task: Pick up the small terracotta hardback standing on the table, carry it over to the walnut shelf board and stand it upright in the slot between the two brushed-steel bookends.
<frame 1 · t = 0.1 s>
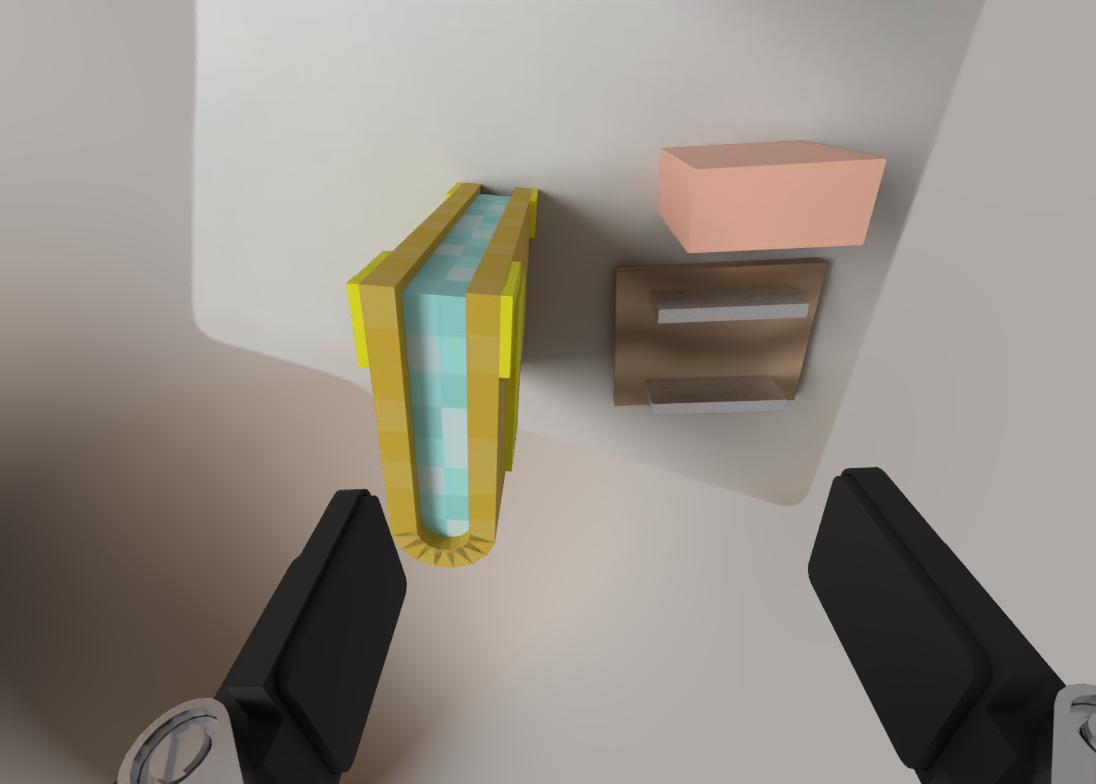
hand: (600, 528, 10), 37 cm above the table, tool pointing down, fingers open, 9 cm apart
small book: (726, 178, 41), on the table
book: (496, 282, 46), on the table
bookends: (718, 351, 45), on the shelf board, point 4 cm above the table
shelf board: (707, 333, 48), on the table
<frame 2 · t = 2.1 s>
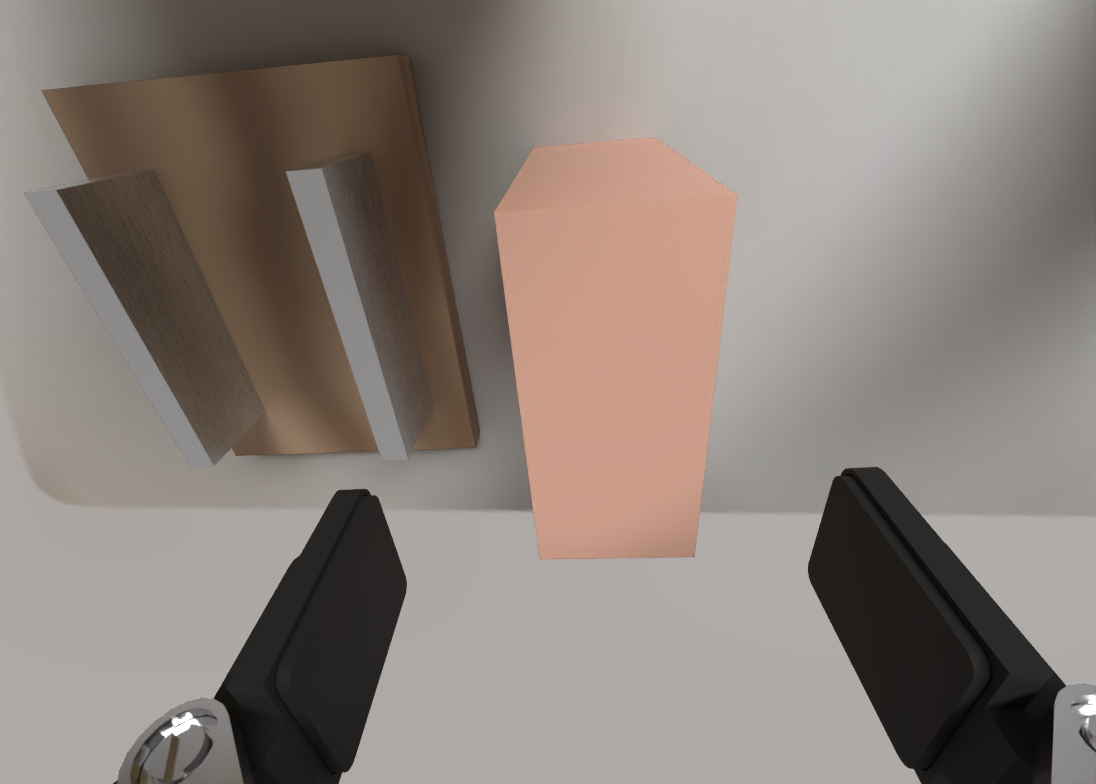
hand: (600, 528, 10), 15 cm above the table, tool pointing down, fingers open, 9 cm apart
small book: (597, 272, 23), on the table
bookends: (273, 321, 21), on the shelf board, point 4 cm above the table
shelf board: (312, 290, 24), on the table
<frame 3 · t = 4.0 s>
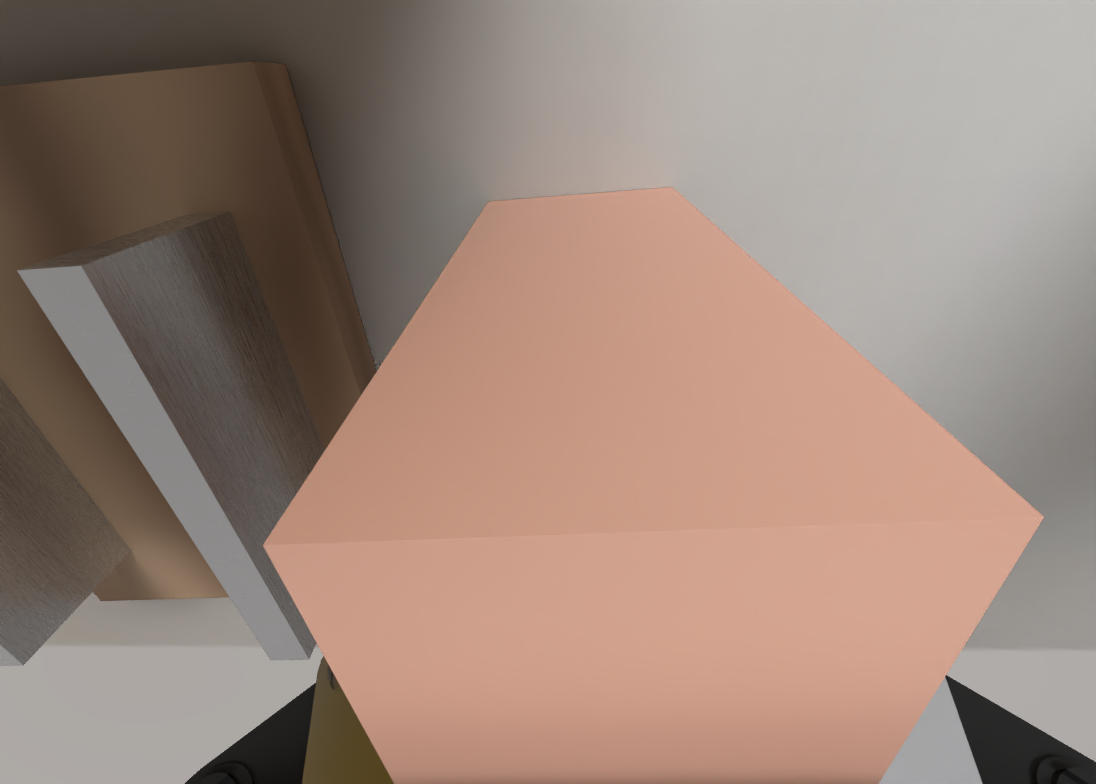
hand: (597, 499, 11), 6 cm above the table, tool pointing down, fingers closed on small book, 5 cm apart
small book: (586, 370, 16), on the table, touching gripper
bookends: (95, 463, 14), on the shelf board, point 4 cm above the table
shelf board: (182, 393, 17), on the table
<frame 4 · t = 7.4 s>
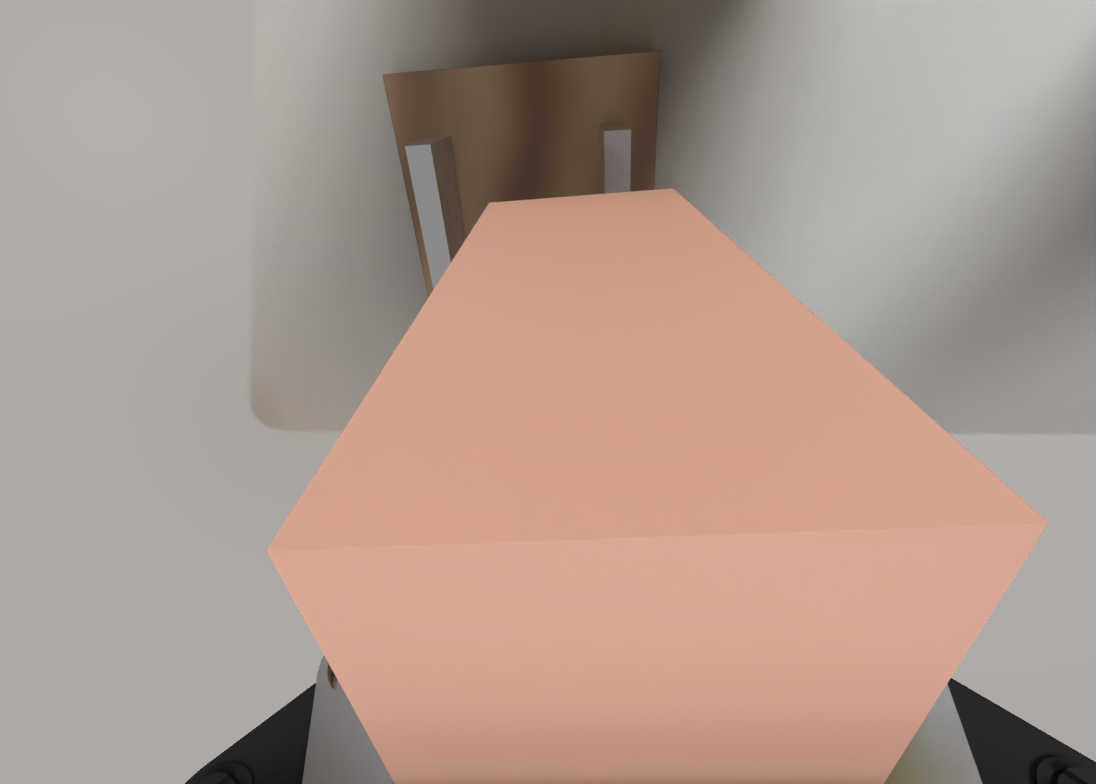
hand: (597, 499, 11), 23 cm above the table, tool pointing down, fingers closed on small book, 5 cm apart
small book: (587, 371, 16), point 17 cm above the table, touching gripper
bookends: (530, 254, 28), on the shelf board, point 4 cm above the table
shelf board: (535, 237, 31), on the table
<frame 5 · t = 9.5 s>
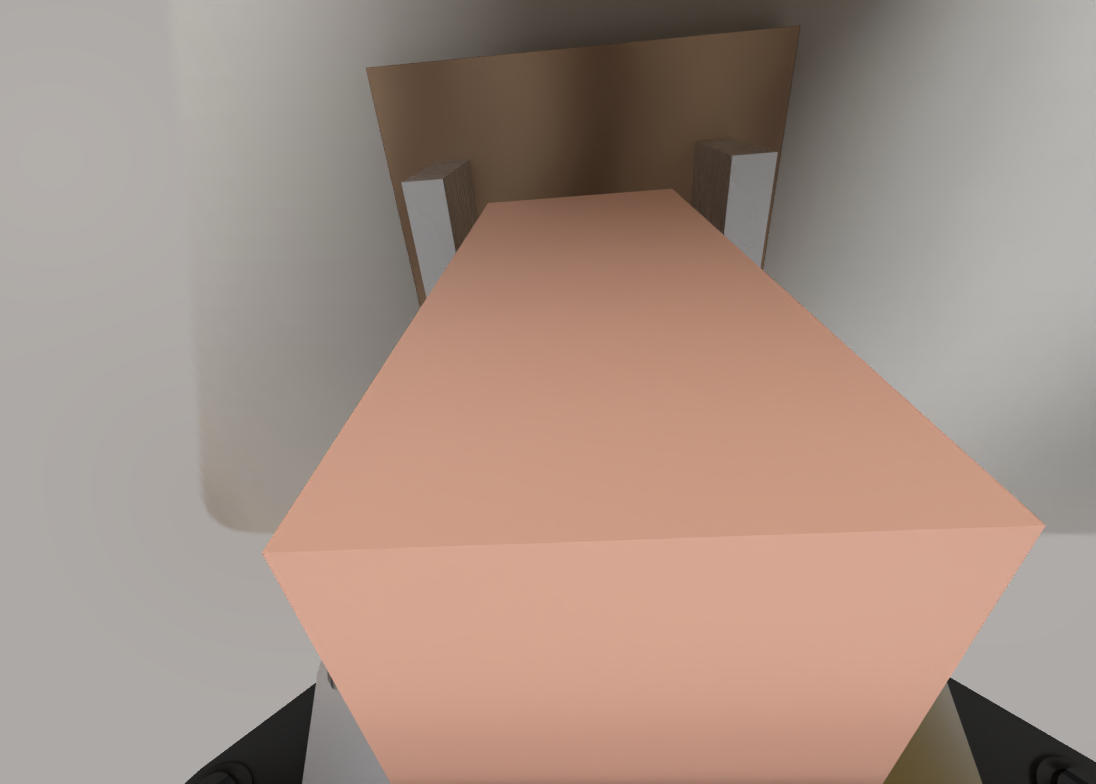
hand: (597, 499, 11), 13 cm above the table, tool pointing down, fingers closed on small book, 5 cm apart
small book: (586, 372, 16), point 7 cm above the table, touching gripper
bookends: (588, 331, 19), on the shelf board, point 4 cm above the table
shelf board: (585, 295, 22), on the table
when the fingers open (9 cm above the table, at t = 11.0 s): small book drops 2 cm, resting on shelf board.
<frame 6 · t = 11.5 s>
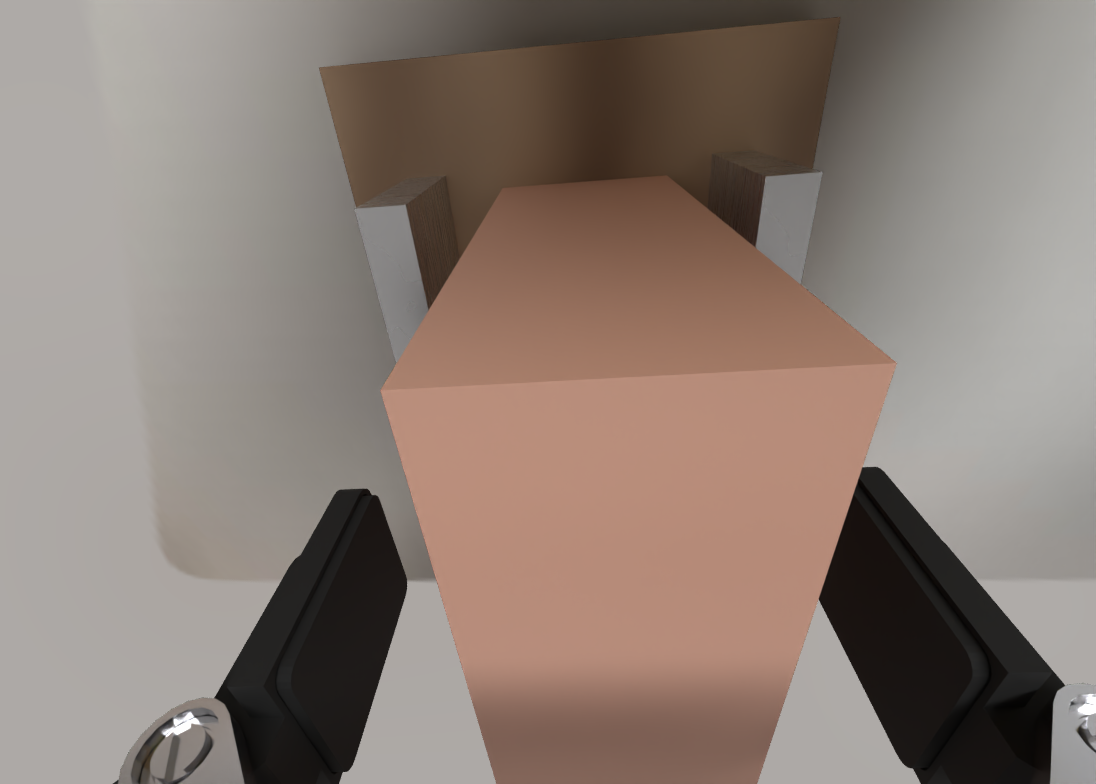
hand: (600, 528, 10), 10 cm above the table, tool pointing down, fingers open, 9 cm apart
small book: (589, 344, 18), point 1 cm above the table, touching shelf board
bookends: (587, 375, 16), on the shelf board, point 4 cm above the table
shelf board: (582, 327, 19), on the table
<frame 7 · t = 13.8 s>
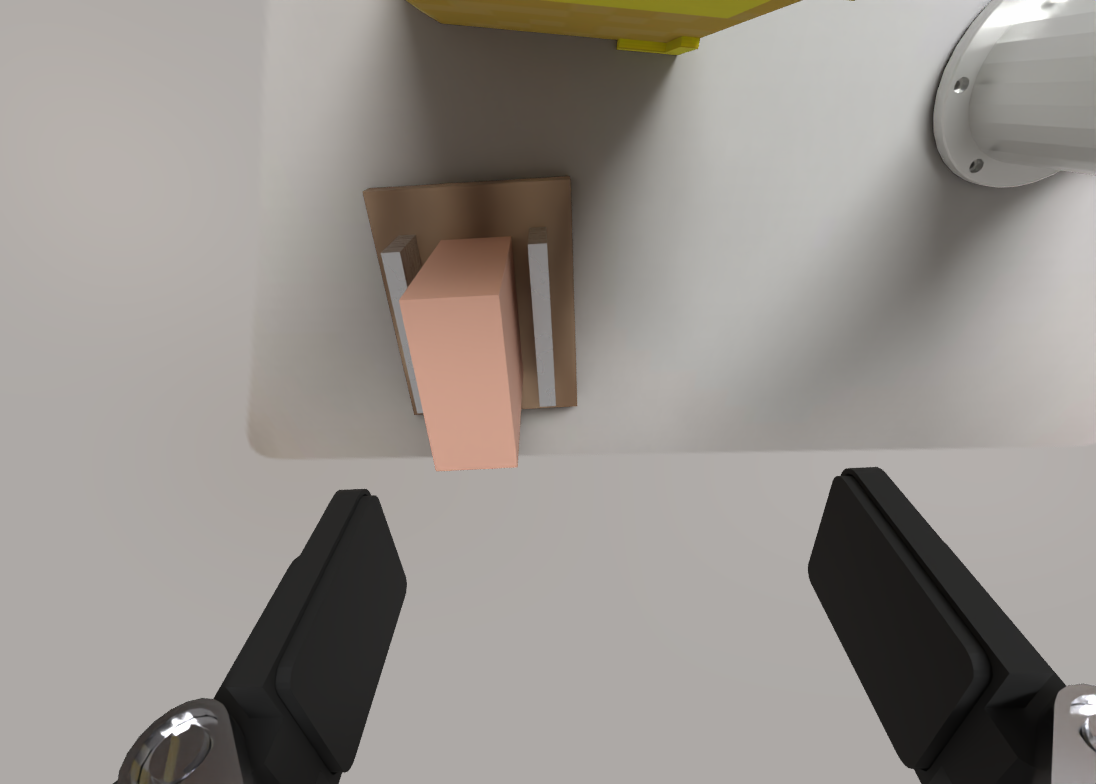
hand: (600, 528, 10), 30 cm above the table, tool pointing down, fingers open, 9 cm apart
small book: (485, 311, 38), point 1 cm above the table, touching shelf board
bookends: (479, 323, 36), on the shelf board, point 4 cm above the table
shelf board: (484, 304, 39), on the table
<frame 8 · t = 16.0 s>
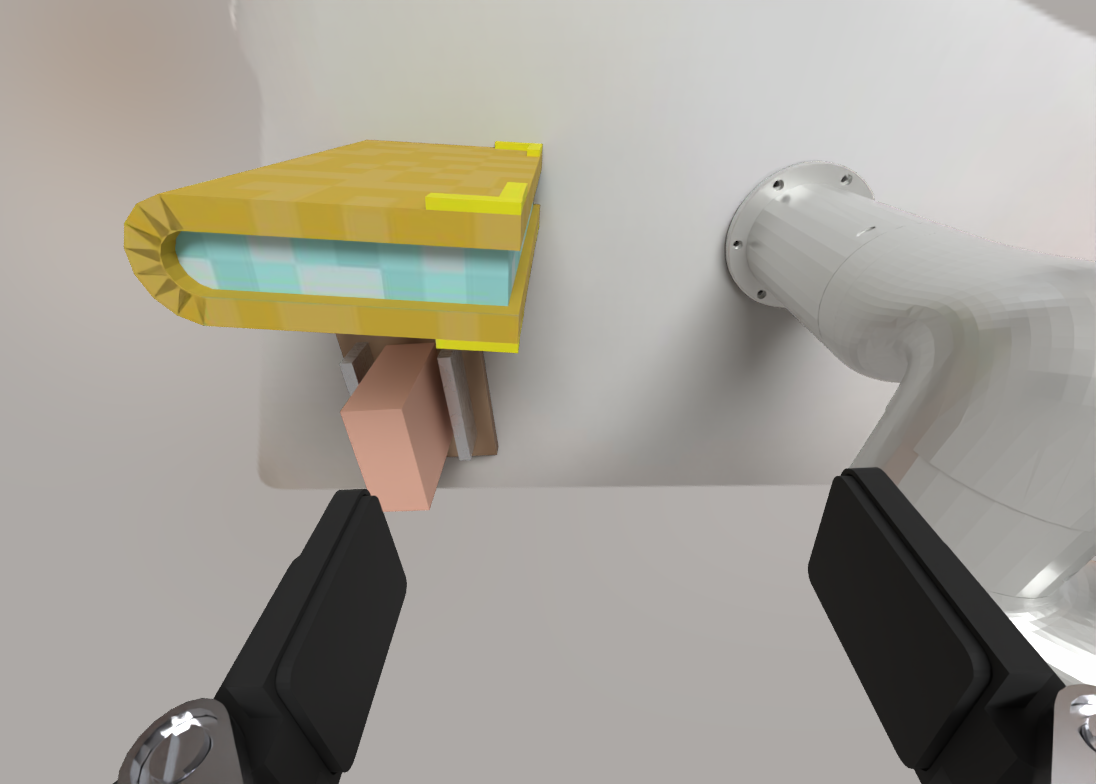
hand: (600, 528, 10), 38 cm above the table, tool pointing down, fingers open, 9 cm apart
small book: (421, 390, 52), point 1 cm above the table, touching shelf board
book: (443, 181, 43), on the table
bookends: (414, 402, 50), on the shelf board, point 4 cm above the table
shelf board: (423, 383, 53), on the table
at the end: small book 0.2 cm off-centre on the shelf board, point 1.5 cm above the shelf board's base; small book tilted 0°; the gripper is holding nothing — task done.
